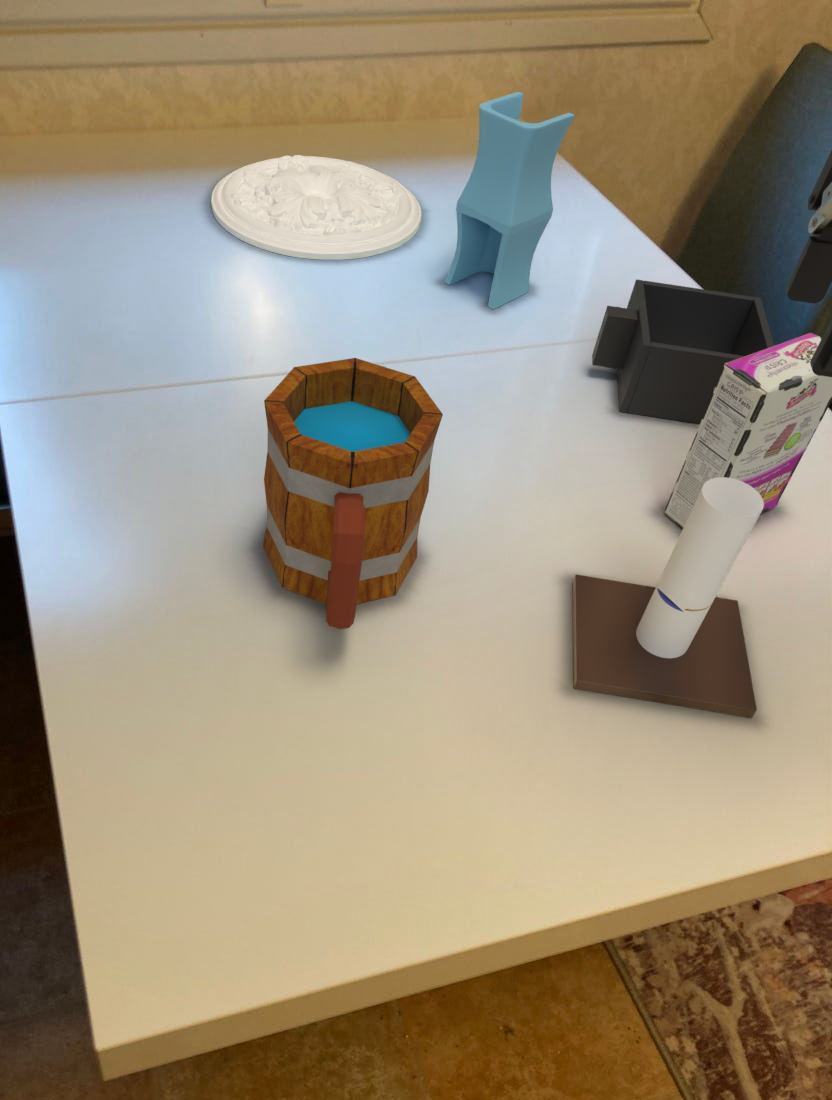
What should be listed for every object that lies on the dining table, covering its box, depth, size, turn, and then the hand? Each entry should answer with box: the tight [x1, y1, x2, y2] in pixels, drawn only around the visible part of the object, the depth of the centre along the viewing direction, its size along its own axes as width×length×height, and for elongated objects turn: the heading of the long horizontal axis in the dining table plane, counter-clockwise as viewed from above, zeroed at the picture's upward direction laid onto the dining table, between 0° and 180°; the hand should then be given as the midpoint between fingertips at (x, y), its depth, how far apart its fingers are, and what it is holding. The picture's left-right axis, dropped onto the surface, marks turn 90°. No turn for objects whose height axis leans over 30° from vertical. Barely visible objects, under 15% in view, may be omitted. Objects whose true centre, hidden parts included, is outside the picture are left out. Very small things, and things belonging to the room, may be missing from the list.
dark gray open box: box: [591, 278, 775, 425], centre depth 100 cm, size 17×14×8 cm
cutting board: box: [572, 574, 758, 718], centre depth 76 cm, size 14×12×1 cm
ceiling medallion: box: [210, 154, 422, 261], centre depth 123 cm, size 28×28×3 cm
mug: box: [262, 357, 444, 630], centre depth 73 cm, size 20×14×15 cm
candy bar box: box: [663, 332, 832, 530], centre depth 83 cm, size 11×5×16 cm, turn 122°
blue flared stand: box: [444, 91, 576, 310], centre depth 107 cm, size 8×8×20 cm
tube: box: [636, 477, 764, 658], centre depth 70 cm, size 4×4×15 cm
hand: (814, 334), depth 55 cm, fingers open, 8 cm apart
